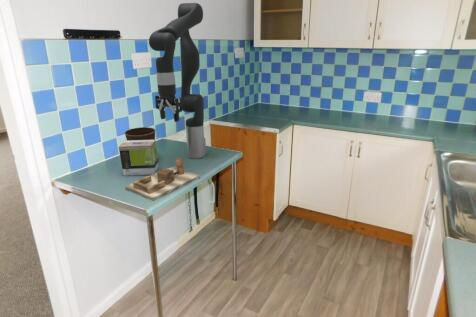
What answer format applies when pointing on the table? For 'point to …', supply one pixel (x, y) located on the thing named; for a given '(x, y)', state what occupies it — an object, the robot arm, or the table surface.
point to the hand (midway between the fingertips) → (169, 120)
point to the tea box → (139, 157)
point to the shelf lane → (160, 184)
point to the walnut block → (171, 172)
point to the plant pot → (140, 134)
